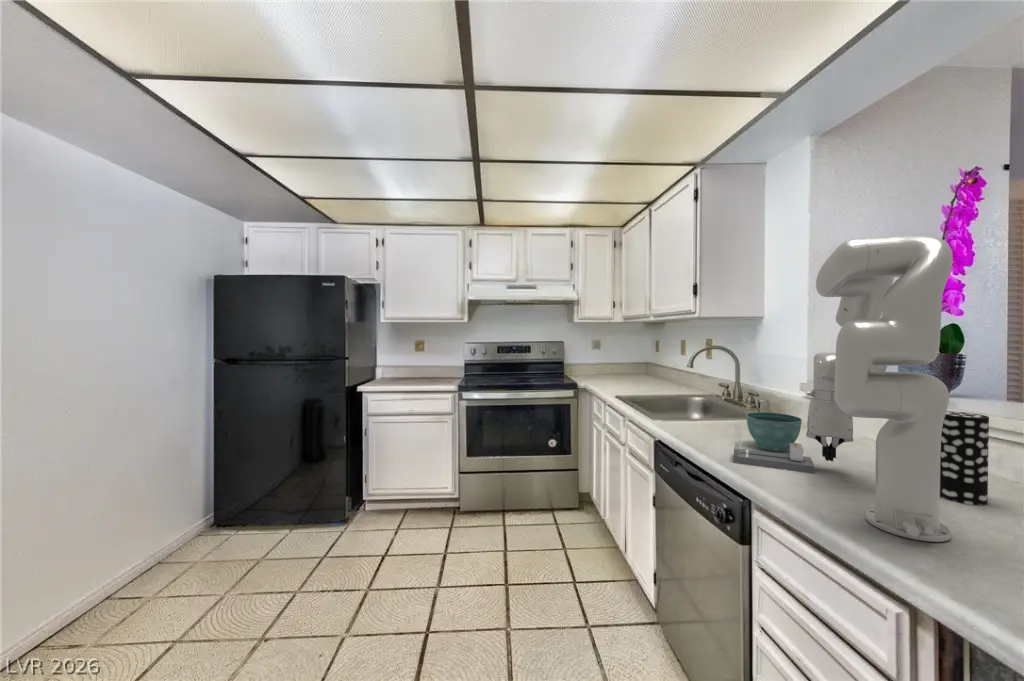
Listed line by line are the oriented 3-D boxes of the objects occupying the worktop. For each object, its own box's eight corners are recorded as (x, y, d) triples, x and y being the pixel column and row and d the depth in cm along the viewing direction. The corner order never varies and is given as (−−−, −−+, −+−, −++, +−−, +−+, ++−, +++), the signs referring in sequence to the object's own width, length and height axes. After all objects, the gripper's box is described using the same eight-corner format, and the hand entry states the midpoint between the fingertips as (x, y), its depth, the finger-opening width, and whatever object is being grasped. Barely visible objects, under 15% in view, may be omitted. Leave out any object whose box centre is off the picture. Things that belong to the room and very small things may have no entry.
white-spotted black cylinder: (930, 489, 105) (932, 410, 104) (978, 495, 100) (979, 413, 100) (943, 500, 97) (944, 416, 97) (994, 508, 93) (996, 419, 93)
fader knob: (802, 461, 120) (802, 447, 120) (790, 460, 121) (790, 446, 121) (801, 457, 124) (801, 443, 124) (789, 455, 126) (789, 442, 125)
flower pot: (809, 457, 131) (809, 423, 131) (752, 452, 136) (752, 420, 136) (792, 443, 147) (792, 413, 147) (741, 440, 152) (741, 411, 152)
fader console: (814, 473, 116) (814, 459, 116) (733, 462, 126) (733, 449, 126) (810, 463, 125) (810, 450, 125) (734, 454, 135) (735, 441, 135)
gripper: (799, 396, 119) (798, 459, 119) (866, 400, 111) (865, 467, 112) (796, 392, 125) (796, 452, 126) (860, 396, 118) (859, 460, 118)
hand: (828, 459), depth 119 cm, fingers closed
